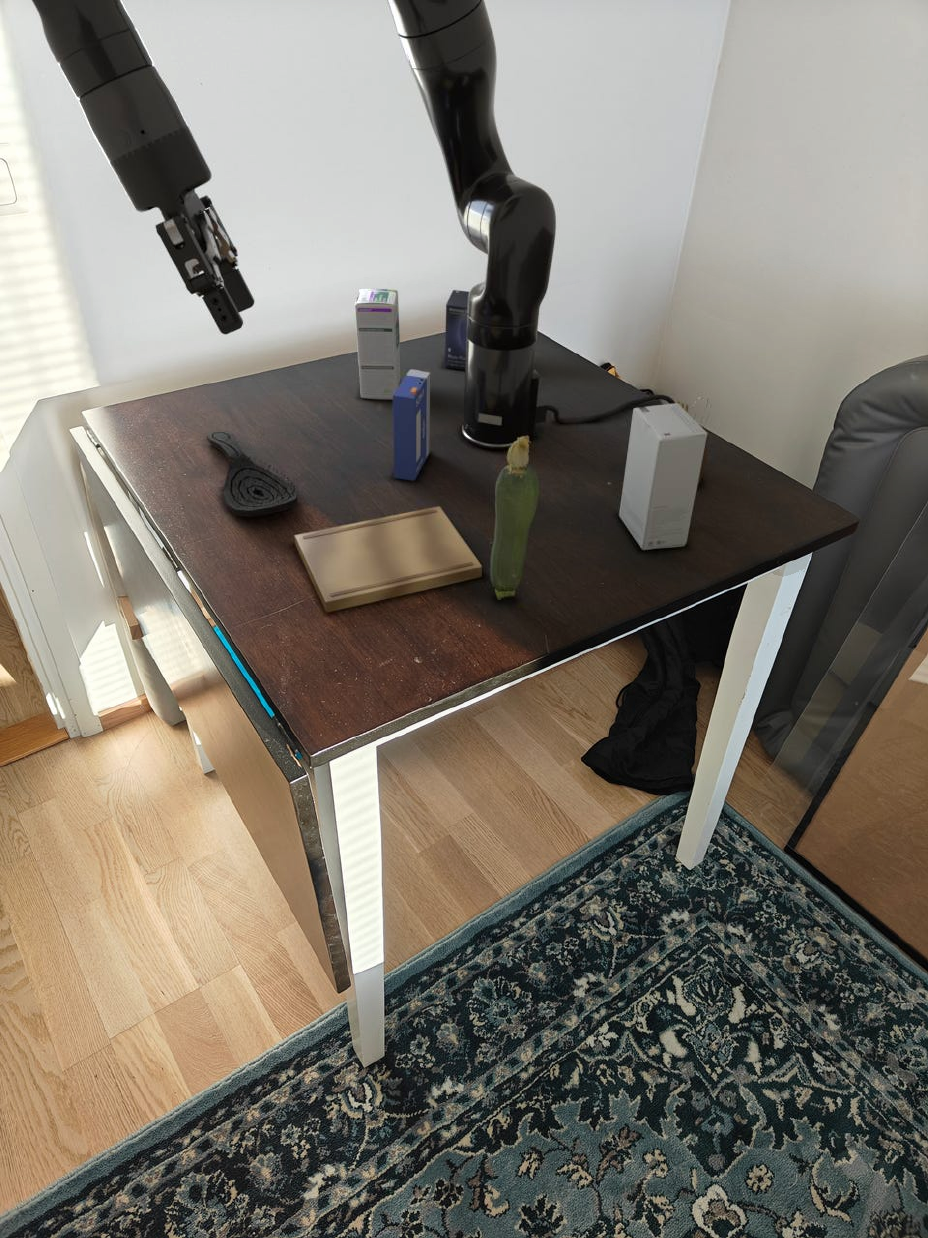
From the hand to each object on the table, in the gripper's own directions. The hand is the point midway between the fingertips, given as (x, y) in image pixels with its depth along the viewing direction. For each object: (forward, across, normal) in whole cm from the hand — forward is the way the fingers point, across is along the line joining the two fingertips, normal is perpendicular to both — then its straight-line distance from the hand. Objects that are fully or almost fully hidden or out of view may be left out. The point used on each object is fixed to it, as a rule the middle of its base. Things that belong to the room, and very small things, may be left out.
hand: (240, 319), depth 83 cm
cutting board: (+30, 0, -2) cm, 30 cm away
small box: (+29, +52, -19) cm, 63 cm away
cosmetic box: (+42, +6, -32) cm, 53 cm away
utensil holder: (+43, +17, -38) cm, 60 cm away
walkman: (+29, +22, -6) cm, 36 cm away
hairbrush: (+21, +18, +14) cm, 31 cm away
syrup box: (+24, +43, -4) cm, 50 cm away
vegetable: (+36, -6, -14) cm, 39 cm away
